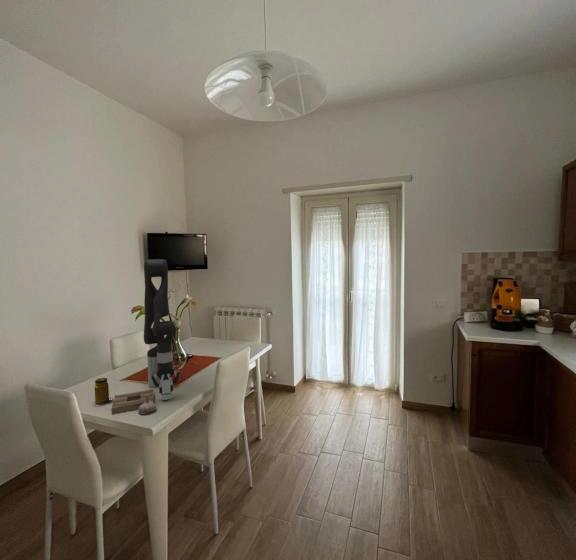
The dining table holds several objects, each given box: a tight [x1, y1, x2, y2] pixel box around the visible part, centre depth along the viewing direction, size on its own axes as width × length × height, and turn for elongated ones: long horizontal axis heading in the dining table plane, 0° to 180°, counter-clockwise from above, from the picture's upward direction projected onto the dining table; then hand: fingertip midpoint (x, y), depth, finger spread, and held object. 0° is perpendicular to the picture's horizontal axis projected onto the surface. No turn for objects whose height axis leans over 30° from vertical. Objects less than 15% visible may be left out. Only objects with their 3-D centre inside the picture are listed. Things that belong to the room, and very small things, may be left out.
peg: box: [161, 379, 172, 401], centre depth 159 cm, size 4×4×10 cm
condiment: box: [93, 377, 114, 408], centre depth 157 cm, size 7×8×12 cm
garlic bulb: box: [137, 395, 157, 415], centre depth 146 cm, size 8×7×8 cm
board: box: [111, 388, 155, 415], centre depth 155 cm, size 15×18×3 cm
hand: (166, 392), depth 159 cm, fingers closed on peg, 4 cm apart
